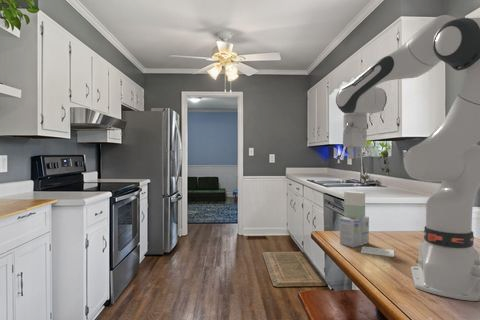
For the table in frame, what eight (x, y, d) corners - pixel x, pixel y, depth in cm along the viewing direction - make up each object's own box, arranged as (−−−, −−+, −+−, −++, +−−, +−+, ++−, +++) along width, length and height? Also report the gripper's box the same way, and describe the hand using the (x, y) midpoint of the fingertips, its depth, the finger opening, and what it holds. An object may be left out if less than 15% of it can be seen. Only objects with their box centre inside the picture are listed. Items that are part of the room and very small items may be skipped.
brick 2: (361, 218, 122) (361, 206, 122) (344, 216, 127) (344, 204, 127) (365, 217, 126) (365, 204, 125) (347, 215, 130) (347, 203, 130)
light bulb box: (354, 239, 132) (354, 214, 132) (369, 243, 127) (369, 216, 127) (339, 244, 126) (339, 217, 126) (353, 248, 121) (354, 220, 120)
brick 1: (362, 206, 122) (362, 193, 122) (344, 204, 127) (344, 192, 126) (365, 204, 126) (365, 192, 126) (347, 203, 130) (347, 191, 130)
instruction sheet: (394, 257, 110) (394, 256, 110) (360, 252, 115) (360, 252, 115) (394, 250, 117) (394, 249, 117) (362, 246, 122) (362, 246, 122)
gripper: (355, 121, 115) (355, 159, 116) (369, 125, 132) (369, 158, 132) (338, 122, 119) (338, 158, 119) (354, 126, 136) (353, 158, 136)
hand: (354, 158), depth 126 cm, fingers open, 8 cm apart
